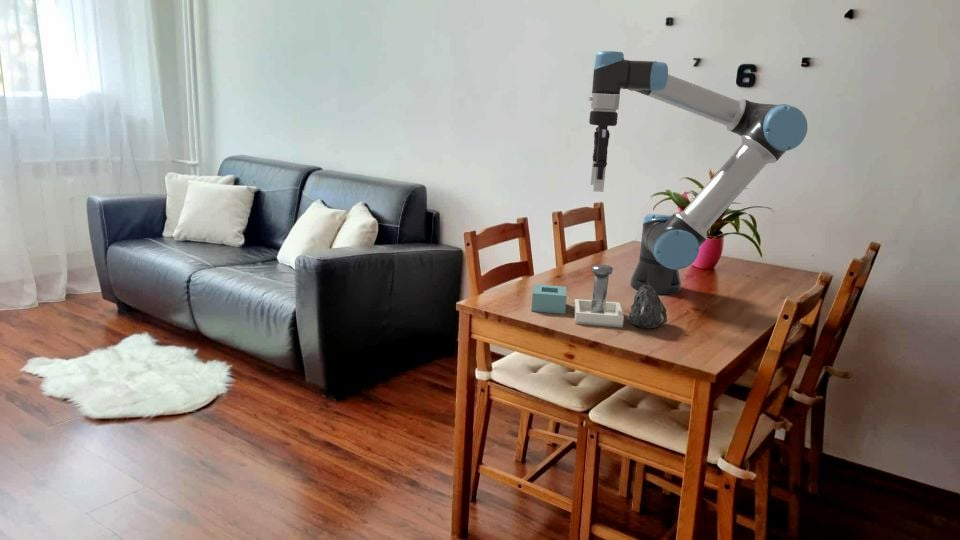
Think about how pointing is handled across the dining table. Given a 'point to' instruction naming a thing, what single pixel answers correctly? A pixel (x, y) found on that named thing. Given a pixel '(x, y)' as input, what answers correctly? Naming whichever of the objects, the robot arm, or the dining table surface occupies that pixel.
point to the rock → (647, 309)
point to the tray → (598, 314)
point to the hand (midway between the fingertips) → (596, 188)
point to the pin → (600, 287)
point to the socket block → (549, 298)
